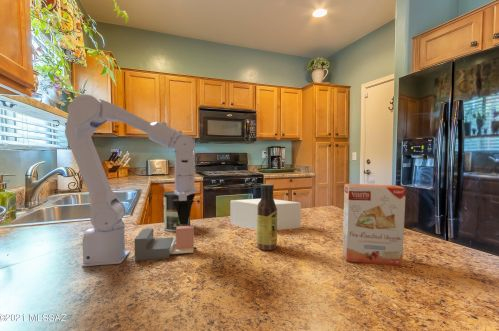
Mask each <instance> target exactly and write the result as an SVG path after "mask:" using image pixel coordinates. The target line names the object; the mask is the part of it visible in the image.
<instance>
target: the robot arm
mask: <svg viewBox="0 0 499 331" xmlns="http://www.w3.org/2000/svg"><path fill="white" fill-rule="evenodd" d="M66 107H67V113H68V115H67V120H66V124H65V130H64V134H65V137H66V140H67V142H68V145H69V147H70V150H71V152H72V155H73V157H74V160H75V162H76V164H77V167H78V169H79V172H80V175H81V176H82V179H83V182H84V184H85V187H86V189H87V192H88V194H89V197H90V200H89V208H90V211H91V215H90V223H91V225H92V227H90V228H87V229H86V230H85V232H84V234H83V237H82V263H81V267H93V266H106V265H117V264H121V263H123V262H124V260H125V259H126V258H127V256H128V255H129V254H130V252H131V250H130V249H129V250H127V249H126V243H125V242H126V238H125V235H126V233H125V230H126V229H125V222H124V221H123V217H124V216H125V215H126V207H125V204H124V203H123V202H122V201H120V199H119V198H118V195H117V194H116V193H115V192H114V191H113V190H112V187H111V184H110V182H109V179H108V177H107V174H106V172H105V169H104V167H103V164H102V161H101V160H100V155H99V154H98V151H97V149H96V146H95V144H94V141H93V139H92V136H93V135H94V134H95V132H96V131H97V129H98V128H100V127H101V126H102V125H104V124H106V123H107V122H109V123H115V122H116V123H117V122H121V123H123V124H125V125H128V126H130V127H133V128H135V129H136V130H137V129H138V130H139V131H141V132H144V133H146V134H147V136H148V140H150V141H152V142H153V143H157V144H159V145H161V146H163V147H165V148H168V149H169V150H170V149H174V150H175V154H174V155H175V159H174V190H173V191H174V193H175V194H177V198H178V199H174V200H173V204H174V206H175V208H176V210H177V213H178V218H179V222H180V224H188V220H189V216H190V217H191V210H192V205H193V204H194V201H195V200H194V199H195V196H196V193H199V188H195V159H194V158H195V153H194V150H195V148H196V144H195V141H194V139H193V137H192V136H191V135H188V134H182V133H183V131H182V130H181V129H179V130H177V129H175V128H173V127H170V126H169V125H168V124H167V122H165V121H161V122H160V121H155V122H150V121H147V120H146V119H144V118H142V117H140V116H138V115H136V114H135V113H133V112H130V111H128V110H126V109H124V108H123V107H121V106H119V105H116V104H114V103H112V102H109V101H106V100H104V99H101V98H99V99H97V98H96V97H95V96H93V95H90V94H83V93H82V94H79V95H77V96H76V97H74V98H73V100H71V102H70V103H69V104H68V106H66Z"/></svg>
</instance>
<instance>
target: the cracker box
mask: <svg viewBox="0 0 499 331" xmlns="http://www.w3.org/2000/svg"><path fill="white" fill-rule="evenodd" d="M343 187H344V189H343V191H344V193H343V194H344V195H343V196H344V198H343V223H342V224H343V226H342V228H343V229H342V255H343V256H344V259H345V261H346V262H351V263H352V262H353V263H364V264H371V265H373V264H375V265H385V266H396V267H403V258H404V255H403V254H404V236H405V235H404V234H405V213H406V212H405V211H406V195H407V194H406V193H407V192H406V191H407V190H406V188H405V187H403V186H400V185H396V184H395V185H393V184H391V185H390V184H372V183H371V184H369V183H368V184H367V183H366V184H364V183H344V186H343Z"/></svg>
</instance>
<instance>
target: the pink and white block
mask: <svg viewBox="0 0 499 331" xmlns="http://www.w3.org/2000/svg"><path fill="white" fill-rule="evenodd" d="M194 227H195V225H190V226H177V228H176V232H175V238H176V242H175V245H174V248H173V251H172V252H170V255H177V254H178V255H179V254H188V253H189V254H191V253H194V251H195V250H194V248H195V228H194Z"/></svg>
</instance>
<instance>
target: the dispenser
mask: <svg viewBox="0 0 499 331" xmlns="http://www.w3.org/2000/svg"><path fill="white" fill-rule="evenodd" d="M133 241H134V261H135V262H137V261H148V260H150V261H151V260H152V261H153V260H162V259H163V260H164V259H170V258H171V254H170V252H172V251H173V248H174V245H175V244H176V237H172V236H171V237H156V238H155V237H154V228H153V227H152V228H142V230H141V231H139V233H138V234H137V236H136V237H135V238H134V240H133Z"/></svg>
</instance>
